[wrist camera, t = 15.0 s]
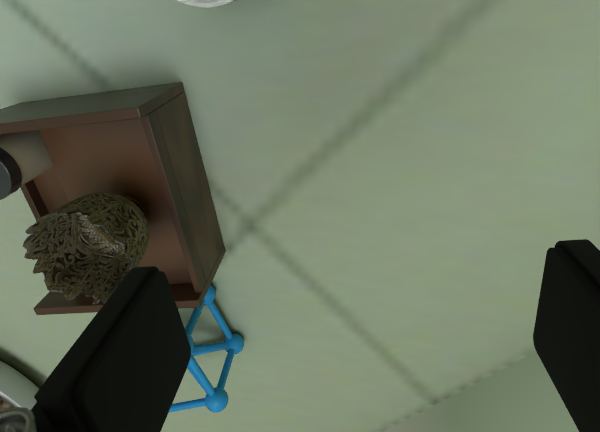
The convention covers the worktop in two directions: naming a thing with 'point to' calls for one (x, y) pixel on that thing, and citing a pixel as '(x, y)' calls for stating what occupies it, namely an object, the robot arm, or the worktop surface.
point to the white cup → (206, 3)
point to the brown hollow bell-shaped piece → (89, 244)
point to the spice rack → (128, 178)
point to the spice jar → (21, 160)
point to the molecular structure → (232, 345)
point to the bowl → (15, 389)
